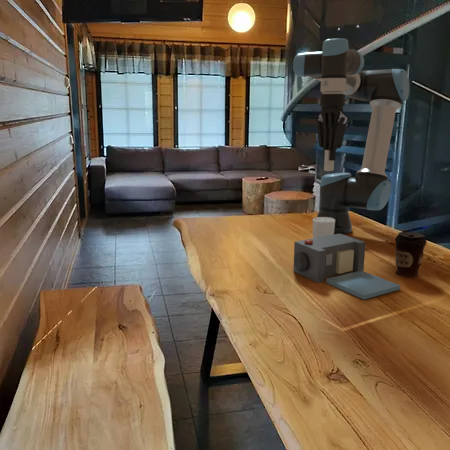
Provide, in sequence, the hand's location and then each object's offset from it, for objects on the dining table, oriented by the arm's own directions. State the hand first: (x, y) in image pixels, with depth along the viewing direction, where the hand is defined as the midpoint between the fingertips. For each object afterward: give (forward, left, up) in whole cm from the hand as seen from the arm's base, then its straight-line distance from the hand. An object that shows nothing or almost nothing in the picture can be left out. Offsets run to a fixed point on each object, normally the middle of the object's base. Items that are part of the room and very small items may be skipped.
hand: (328, 170), depth 147 cm
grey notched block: (+12, +8, -29) cm, 33 cm away
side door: (+14, +15, -29) cm, 35 cm away
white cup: (-12, -7, -30) cm, 33 cm away
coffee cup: (-1, +27, -30) cm, 40 cm away
